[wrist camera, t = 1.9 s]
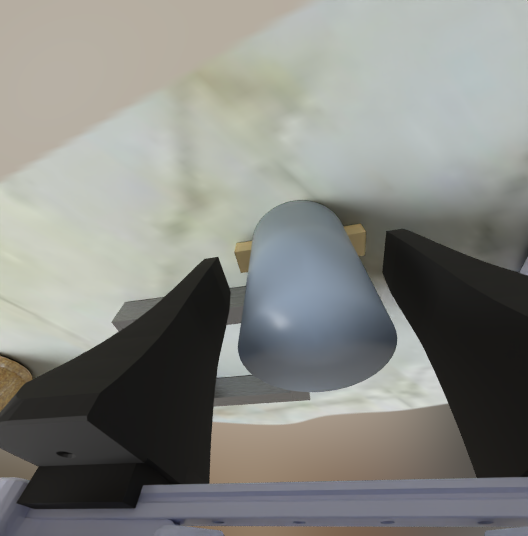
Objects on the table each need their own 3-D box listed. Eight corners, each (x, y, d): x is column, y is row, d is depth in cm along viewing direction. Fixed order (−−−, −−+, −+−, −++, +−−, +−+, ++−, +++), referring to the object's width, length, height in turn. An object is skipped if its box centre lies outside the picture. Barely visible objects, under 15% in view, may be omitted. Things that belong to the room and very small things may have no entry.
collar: (291, 280, 13) (293, 302, 12) (308, 379, 19) (310, 402, 17) (124, 302, 15) (109, 324, 13) (186, 389, 20) (180, 411, 19)
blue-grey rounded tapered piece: (361, 188, 10) (441, 278, 5) (358, 272, 13) (412, 385, 8) (227, 212, 11) (191, 309, 6) (249, 286, 14) (236, 397, 9)
